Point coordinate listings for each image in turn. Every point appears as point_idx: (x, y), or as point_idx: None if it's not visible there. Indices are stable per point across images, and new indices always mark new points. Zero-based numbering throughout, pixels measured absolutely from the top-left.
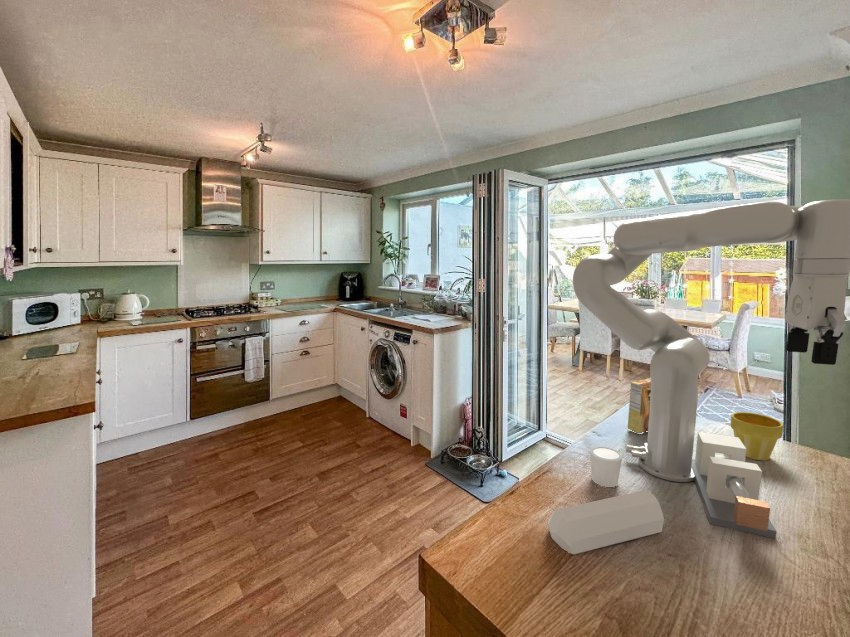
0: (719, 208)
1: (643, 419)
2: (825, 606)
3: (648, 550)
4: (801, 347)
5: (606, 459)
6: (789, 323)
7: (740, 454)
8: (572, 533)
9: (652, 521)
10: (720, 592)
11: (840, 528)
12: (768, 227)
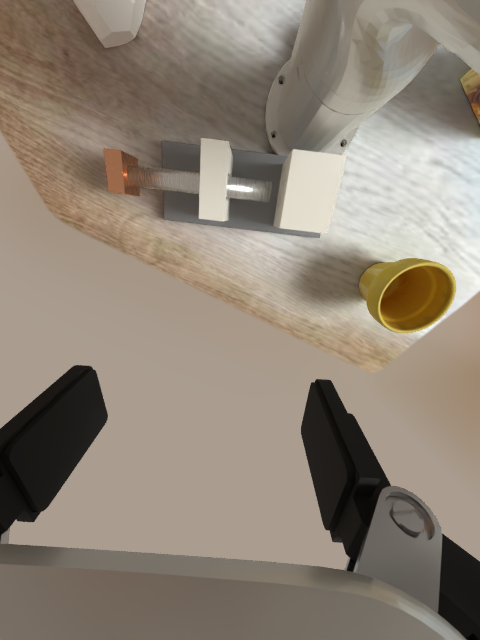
0: None
1: None
2: (76, 218)
3: (57, 15)
4: (309, 433)
5: None
6: (266, 582)
7: (279, 219)
8: None
9: (83, 12)
10: (32, 109)
11: (215, 296)
12: None
